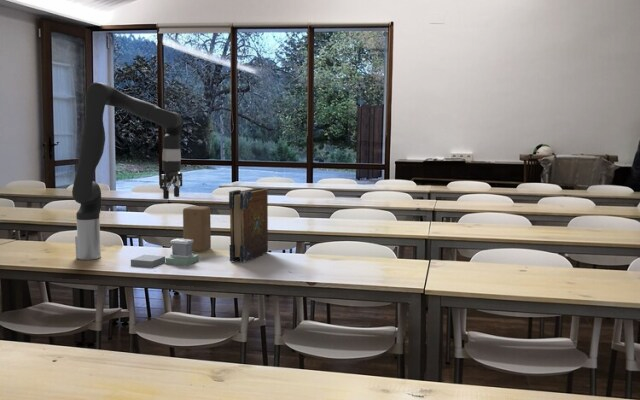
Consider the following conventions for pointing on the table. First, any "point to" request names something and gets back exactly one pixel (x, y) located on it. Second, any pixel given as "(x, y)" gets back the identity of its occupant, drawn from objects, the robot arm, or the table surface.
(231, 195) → the decorative book
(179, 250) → the housing
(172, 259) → the stand
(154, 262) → the stand
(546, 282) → the table surface
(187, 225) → the wooden block
